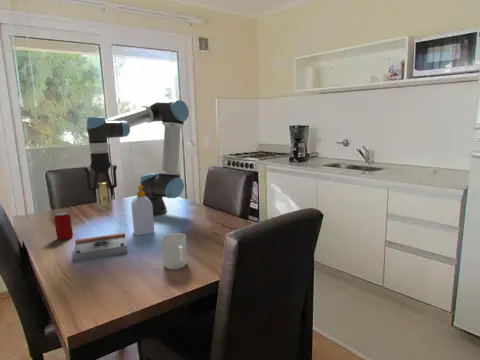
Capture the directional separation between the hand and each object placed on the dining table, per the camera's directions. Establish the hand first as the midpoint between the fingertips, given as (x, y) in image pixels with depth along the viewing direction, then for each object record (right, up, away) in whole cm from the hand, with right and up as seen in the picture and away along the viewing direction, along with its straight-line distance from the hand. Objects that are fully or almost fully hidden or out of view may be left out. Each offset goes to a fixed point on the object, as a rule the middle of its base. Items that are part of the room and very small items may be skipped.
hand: (104, 203), depth 151 cm
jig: (+3, -19, -11) cm, 22 cm away
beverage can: (-21, -17, +5) cm, 27 cm away
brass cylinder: (0, -1, 0) cm, 1 cm away
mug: (+38, -22, -28) cm, 52 cm away
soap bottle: (+15, -15, +11) cm, 24 cm away
